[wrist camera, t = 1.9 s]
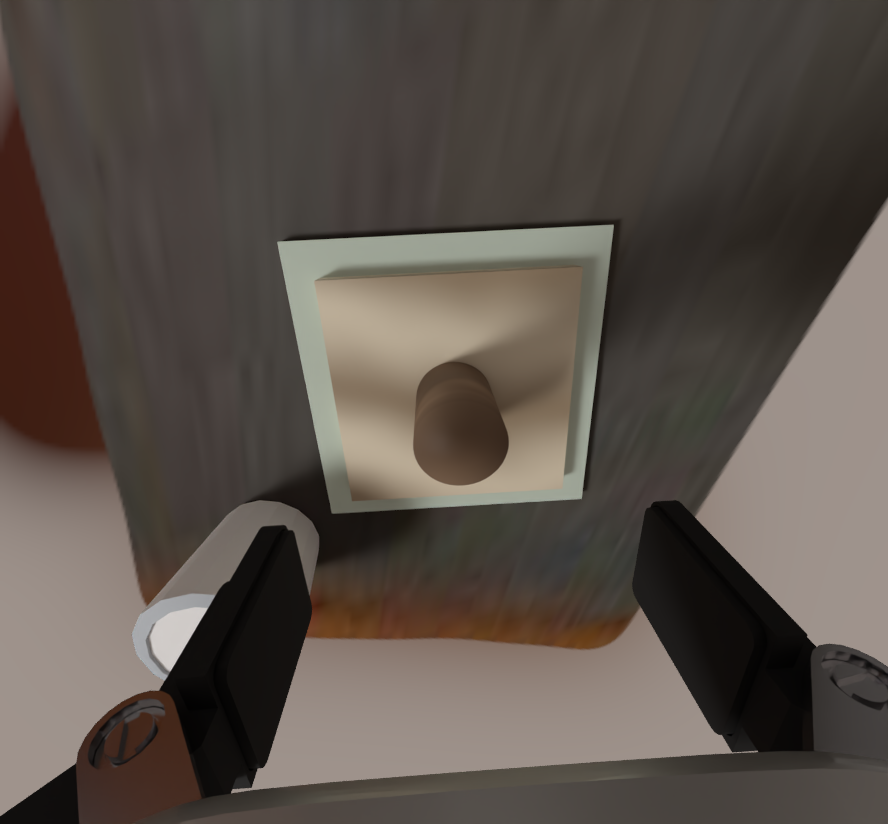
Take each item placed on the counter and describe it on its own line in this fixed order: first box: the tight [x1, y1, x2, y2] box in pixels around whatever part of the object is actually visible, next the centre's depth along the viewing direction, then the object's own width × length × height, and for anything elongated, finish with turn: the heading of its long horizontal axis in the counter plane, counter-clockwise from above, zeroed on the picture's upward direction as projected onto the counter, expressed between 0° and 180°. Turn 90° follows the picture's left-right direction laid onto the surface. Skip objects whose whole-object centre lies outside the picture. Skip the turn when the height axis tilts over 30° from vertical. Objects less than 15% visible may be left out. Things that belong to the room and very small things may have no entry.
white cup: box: [132, 500, 319, 680], centre depth 21 cm, size 7×7×7 cm
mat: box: [277, 225, 614, 514], centre depth 20 cm, size 14×14×1 cm
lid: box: [314, 265, 583, 501], centre depth 17 cm, size 11×11×6 cm
